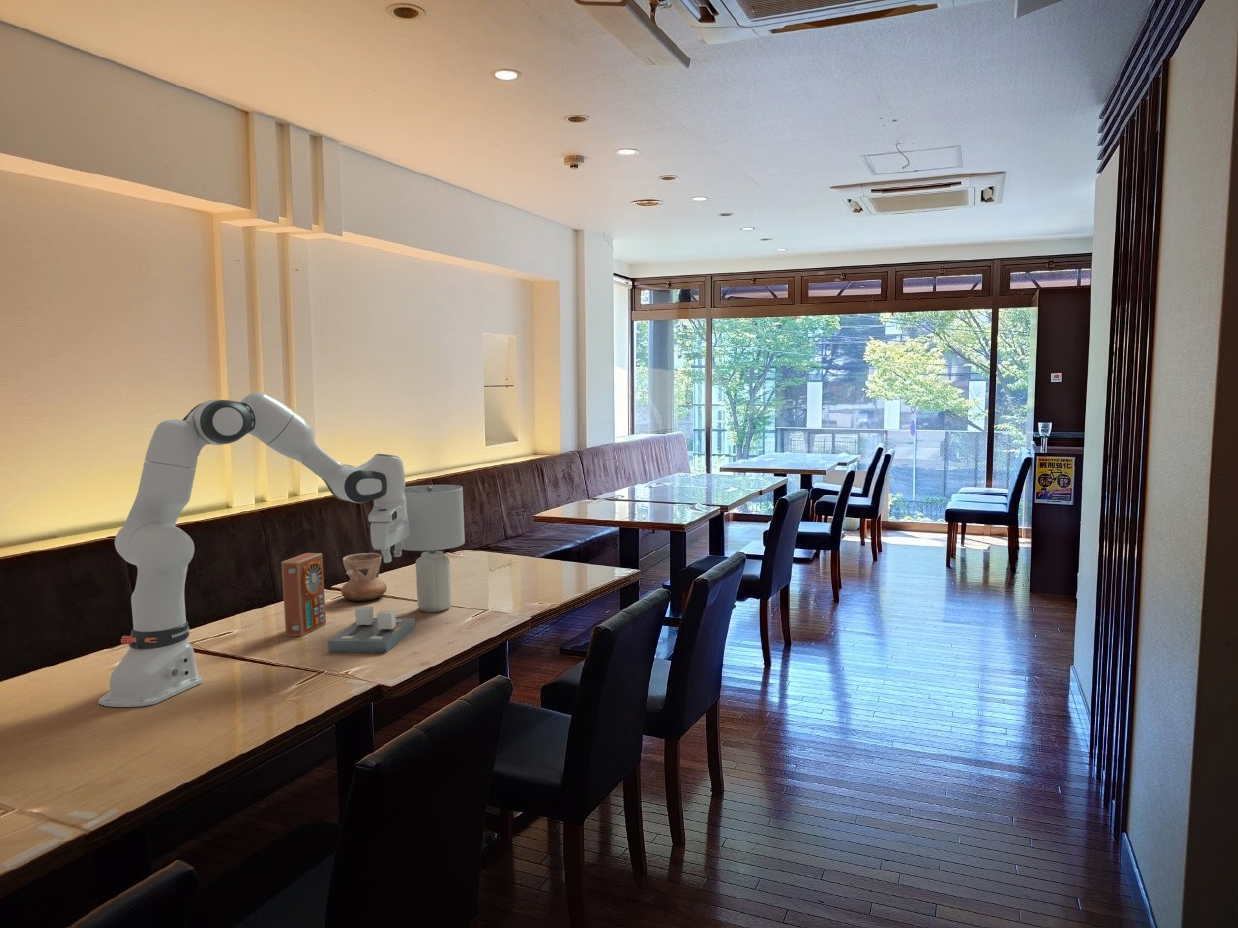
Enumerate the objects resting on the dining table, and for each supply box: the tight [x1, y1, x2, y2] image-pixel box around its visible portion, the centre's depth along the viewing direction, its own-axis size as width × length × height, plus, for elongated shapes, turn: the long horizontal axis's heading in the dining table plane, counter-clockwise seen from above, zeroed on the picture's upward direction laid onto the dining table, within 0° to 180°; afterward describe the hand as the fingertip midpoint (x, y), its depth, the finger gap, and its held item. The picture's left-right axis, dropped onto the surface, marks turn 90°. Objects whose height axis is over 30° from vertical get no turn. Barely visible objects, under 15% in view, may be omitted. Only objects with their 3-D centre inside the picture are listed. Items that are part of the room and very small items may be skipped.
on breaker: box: [354, 606, 375, 625], centre depth 235 cm, size 3×4×4 cm
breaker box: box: [327, 617, 416, 654], centre depth 231 cm, size 22×16×3 cm
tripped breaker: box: [376, 609, 397, 629], centre depth 230 cm, size 3×4×4 cm
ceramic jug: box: [340, 552, 388, 602], centre depth 277 cm, size 18×14×14 cm
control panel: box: [280, 552, 327, 637], centre depth 242 cm, size 21×7×15 cm
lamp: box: [402, 484, 466, 613], centre depth 260 cm, size 20×20×39 cm
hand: (392, 559), depth 236 cm, fingers open, 6 cm apart
